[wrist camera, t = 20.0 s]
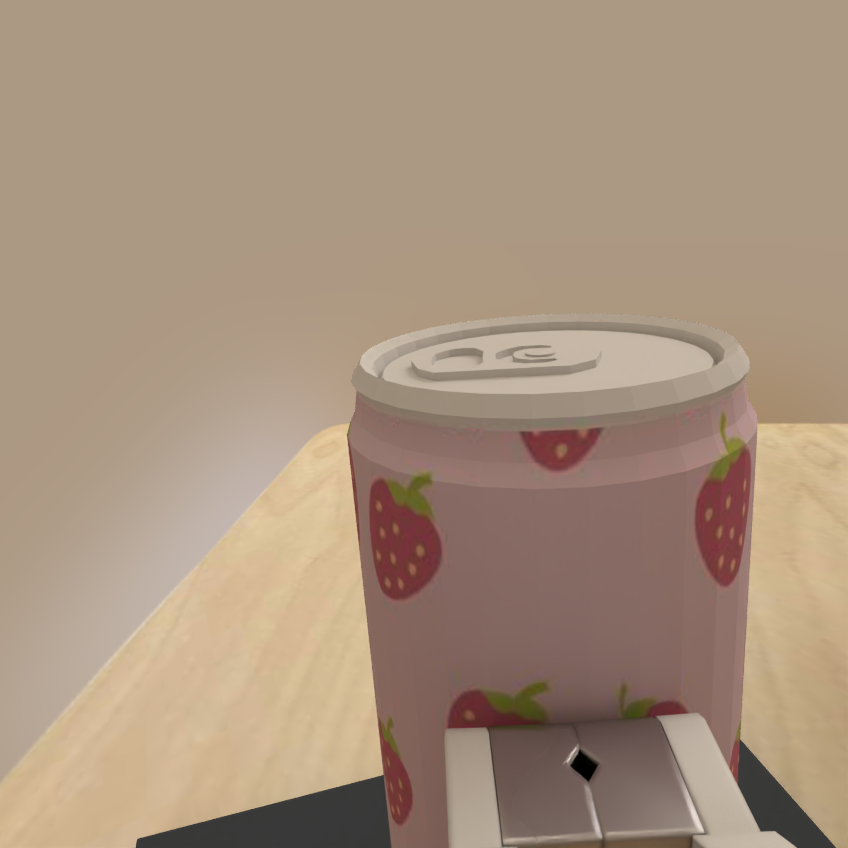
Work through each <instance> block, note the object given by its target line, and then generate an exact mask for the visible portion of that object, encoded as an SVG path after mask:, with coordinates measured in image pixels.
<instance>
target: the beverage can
mask: <svg viewBox="0 0 848 848" xmlns="http://www.w3.org/2000/svg"><path fill="white" fill-rule="evenodd" d="M748 371H749V359H748V357H747V355H746V354H745V352H744V350H743V349H742V347H741V346H740V344H739V342H737V341H736V340H735V338H734V337H733V336H732V335H730V334H728V333H726V332H724V331H721V330H719V329H717V328H714V327H710V326H706V325H702V324H699V323H695V322H689V321H682V320H677V319H670V318H662V317H651V316H641V315H622V314H546V315H530V316H515V317H504V318H493V319H484V320H477V321H469V322H462V323H455V324H450V325H444V326H439V327H433V328H428V329H425V330H420V331H416V332H412V333H408V334H404V335H401V336H398V337H395V338H392V339H389V340H386V341H384V342H382V343H380V344H378V345H376V346H373V347H371V348H370V349H369V350H368V351H367V352H365V353H364V354H363V355H362V356H361V358H360V360H359V362H358V364H357V366H356V368H355V371H354V373H353V377H352V380H351V382H352V384H353V385H354V387H355V388H356V390H357V394H356V407H355V412H354V415H353V418H352V420H351V422H350V425H349V429H348V433H347V438H348V447H349V456H350V466H351V475H352V484H353V494H354V503H355V512H356V522H357V531H358V540H359V550H360V559H361V568H362V578H363V587H364V596H365V605H366V615H367V624H368V633H369V643H370V652H371V661H372V671H373V680H374V689H375V699H376V708H377V717H378V727H379V736H380V745H381V755H382V764H383V773H384V783H385V792H386V801H387V810H388V820H389V829H390V838H391V848H449V839H448V814H447V789H446V765H445V740H444V739H445V731H446V729H450V728H484V727H487V729H488V731H489V726H506V725H532V724H558V723H572V722H585V721H599V720H613V719H627V718H640V717H654V718H655V716H662V715H675V714H688V713H699V714H700V715H701V716H702V717H703V718H704V719H705V720H706V722H707V724H708V726H709V728H710V730H711V732H712V734H713V736H714V738H715V740H716V743H717V745H718V747H719V749H720V751H721V753H722V755H723V757H724V759H725V761H726V763H727V765H728V767H729V769H730V771H731V773H732V775H733V777H734V779H735V781H736V783H737V782H738V764H739V746H740V729H741V711H742V693H743V675H744V658H745V640H746V622H747V604H748V586H749V569H750V551H751V533H752V515H753V498H754V480H755V462H756V444H757V415H756V413H755V411H754V409H753V407H752V405H751V403H750V402H749V400H748V398H747V391H746V384H745V377H746V375H747V373H748Z"/></svg>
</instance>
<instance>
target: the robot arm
mask: <svg viewBox="0 0 848 848" xmlns="http://www.w3.org/2000/svg"><path fill="white" fill-rule="evenodd" d="M444 740H445V765H446V789H447V814H448V839H449V848H797V847H795V846H794V845H793V844H791V843H790V842H789V841H787V840H786V839H785V838H783V837H782V836H781V835H779V834H778V833H777V832H775V831H764V832H761V831H760V829H759V827H758V825H757V823H756V821H755V819H754V817H753V815H752V813H751V811H750V809H749V807H748V805H747V803H746V801H745V799H744V797H743V795H742V793H741V791H740V789H739V787H738V785H737V783H736V781H735V779H734V777H733V775H732V773H731V771H730V769H729V767H728V765H727V763H726V761H725V759H724V757H723V755H722V753H721V751H720V749H719V747H718V745H717V743H716V740H715V738H714V736H713V734H712V732H711V730H710V728H709V726H708V724H707V722H706V720H705V719H704V718H703V717H702V716H701V715H700V714H699V713H688V714H675V715H662V716H655V718H654V717H640V718H627V719H613V720H599V721H585V722H572V723H558V724H532V725H506V726H489V731H488V729H487V727H484V728H450V729H446V731H445V739H444Z"/></svg>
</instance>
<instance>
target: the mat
mask: <svg viewBox="0 0 848 848" xmlns="http://www.w3.org/2000/svg"><path fill="white" fill-rule="evenodd" d="M737 785H738V787H739V789H740V791H741V793H742V795H743V797H744V799H745V801H746V803H747V805H748V807H749V809H750V811H751V813H752V815H753V817H754V819H755V821H756V823H757V825H758V827H759V829H760V831H761V832H764V831H775V832H777V833H778V834H779V835H781V836H782V837H783V838H785V839H786V840H787V841H789V842H790V843H791V844H793V845H794V846H795V847H797V848H836V847H835V846H834V845H833V844H832V843H831V842H830V840H829V839H828V838H827V837H826V836H825V835H824V834H823V832H822V831H821V830H820V829H819V828H818V827H817V826H816V825H815V823H814V822H813V821H812V820H811V819H810V818H809V817H808V816H807V814H806V813H805V812H804V811H803V810H802V809H801V808H800V806H799V805H798V804H797V803H796V802H795V801H794V800H793V799H792V797H791V796H790V795H789V794H788V793H787V792H786V791H785V790H784V788H783V787H782V786H781V785H780V784H779V783H778V782H777V780H776V779H775V778H774V777H773V776H772V775H771V774H770V773H769V771H768V770H767V769H766V768H765V767H764V766H763V765H762V764H761V762H760V761H759V760H758V759H757V758H756V757H755V756H754V754H753V753H752V752H751V751H750V750H749V749H748V748H747V747H746V745H745V744H744V743H743V742H742V741H741V740H740V746H739V764H738V782H737ZM136 848H391V838H390V829H389V820H388V810H387V801H386V792H385V783H384V775H382V776H378V777H375V778H371V779H367V780H363V781H359V782H355V783H351V784H348V785H344V786H340V787H336V788H332V789H328V790H324V791H320V792H317V793H313V794H309V795H305V796H301V797H297V798H293V799H290V800H286V801H282V802H278V803H274V804H270V805H266V806H263V807H259V808H255V809H251V810H247V811H243V812H239V813H236V814H232V815H228V816H224V817H220V818H216V819H212V820H209V821H205V822H201V823H197V824H193V825H189V826H185V827H182V828H178V829H174V830H170V831H166V832H162V833H158V834H155V835H151V836H147V837H143V838H139V839H137V843H136Z"/></svg>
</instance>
